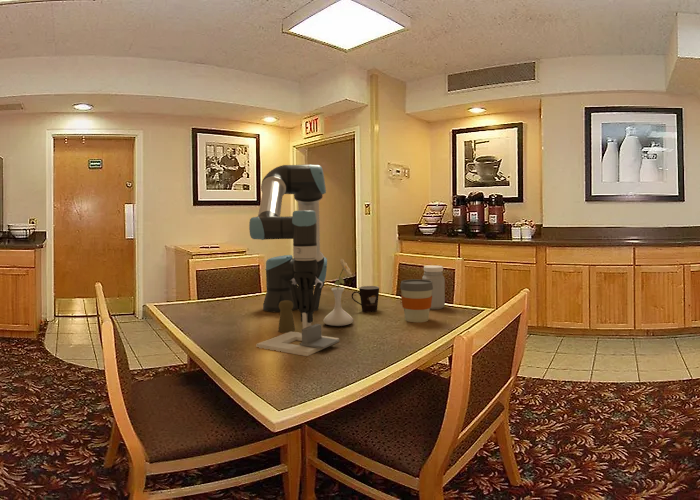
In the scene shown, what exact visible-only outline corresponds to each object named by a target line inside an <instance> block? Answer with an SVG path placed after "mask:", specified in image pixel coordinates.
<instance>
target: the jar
mask: <svg viewBox="0 0 700 500" xmlns="http://www.w3.org/2000/svg"><path fill="white" fill-rule="evenodd" d="M423 271H424V272H423V275H422V278H421V280H430V281H432V285H433V289H432V294H431V295H432V303H431V308H430V310H441V309H444V307H445V305H446V304H445V303H446V302H445V301H446V299H445V298H446V297H445V292H446V289H445V287H446V286H445V285H446V284H445V283H446V280H445V276H444V272H443V271H444V266H443V265H437V264H436V265H432V264H430V265H424V266H423Z"/></svg>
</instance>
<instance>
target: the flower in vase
mask: <svg viewBox="0 0 700 500" xmlns="http://www.w3.org/2000/svg"><path fill="white" fill-rule="evenodd" d="M339 261H340V265H341V267H342V269H341V271H340V274H339V276H338V279H336V280H335V282H334V285H335V286H337V287H332V288H331V289H330V290H331V292H332V294H333V297H334V307H333V310H331V311H330V312H329V313H328V314H327V315H326V316H324V318H323V322H324V324H326V325H328V326H332V327H340V326H341V327H342V326H347V325H350V324H352V323H353V322H354V318H353V317H352V316H351V314H349V313H348V312H347V311H345V310H344V309H343V307H342V295H343V292H344V290H345V288H344V287H340V284H341V285H344V284H345V281H344V279H343V278H342V277H341V276H342V274H343V271H344V273H345V274H346V275H347V276H348V277H349V278H351V277H352V276H353V273H352V272H351V268H350V267H349V266H348V263H347V262H345V259H344V258H340V260H339Z"/></svg>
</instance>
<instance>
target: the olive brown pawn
mask: <svg viewBox="0 0 700 500" xmlns="http://www.w3.org/2000/svg"><path fill="white" fill-rule="evenodd" d="M292 308H293V303H292V301H289V300H284V301H281V302H280V303H279V309H280V312H279V322H278V333H281V334H282V333H283V334H285V333H288V332H291V331H292V332H296V328H295V321H294V314H293V310H292Z"/></svg>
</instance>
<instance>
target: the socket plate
mask: <svg viewBox="0 0 700 500" xmlns="http://www.w3.org/2000/svg"><path fill="white" fill-rule="evenodd" d="M322 337H323V338H330V339H337V340H339V341H340V337H333V336H326V335H322ZM295 341H298V342H302V332H298V331H294V332H292V331H291V332H288V333H283V334H282V333H281V334H279V335H277V336H275V337H272V338H269V339H266V340H263V341H260V342H257V343H256V344H255V345H256V346H255V347H256V348H257V347H259V348H258V349H262V348H264V349H263V350H268V349H270V350H269V351H274V350H276V351H275V352H280V351H281V353H285V354H287V353H288V354H293V355H299V356H304V357H309V356H312V355H313V354H316V353H317V352H319V351H322V350H323V349H322V348H316V347H309V346H303V345H300V344H293V343H292V342H295Z"/></svg>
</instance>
